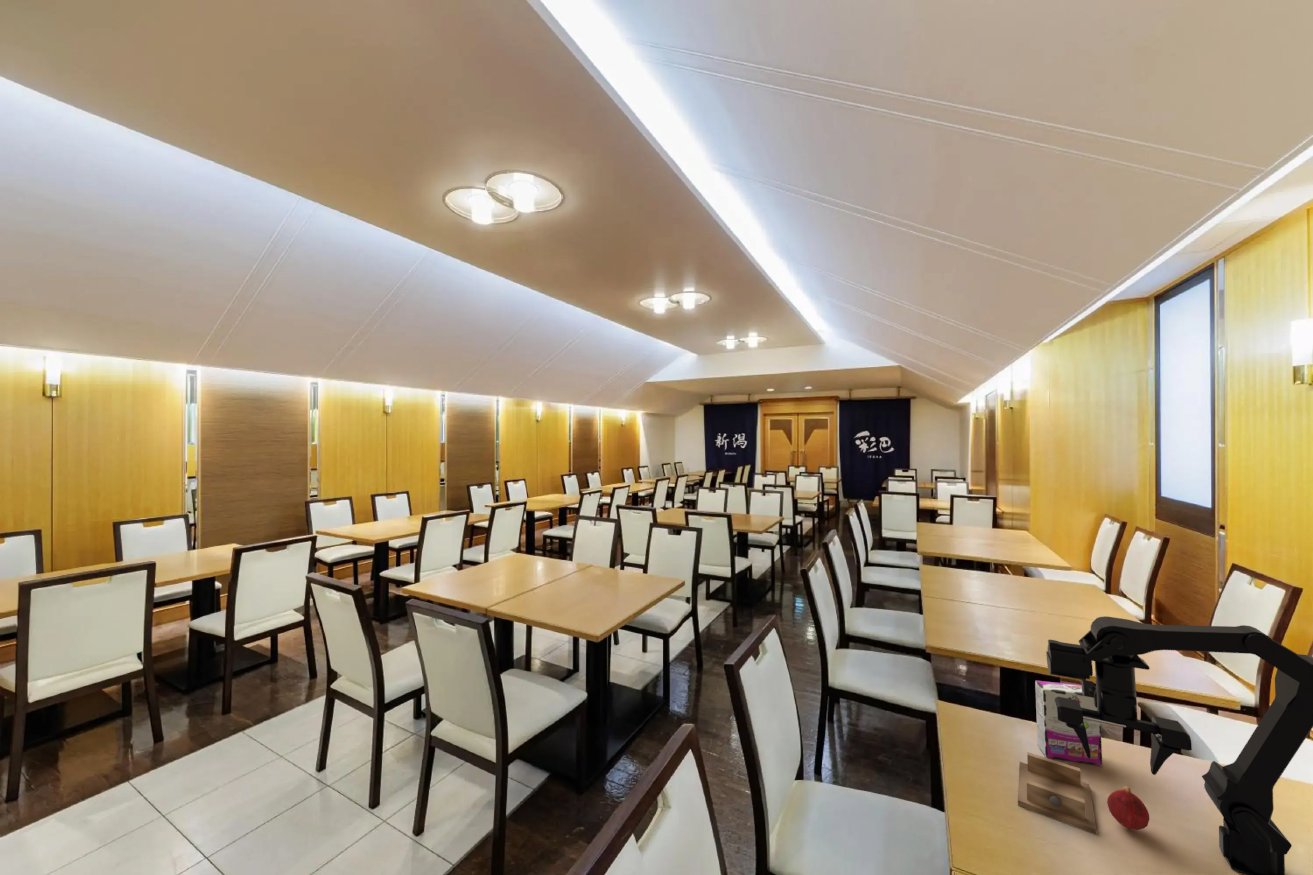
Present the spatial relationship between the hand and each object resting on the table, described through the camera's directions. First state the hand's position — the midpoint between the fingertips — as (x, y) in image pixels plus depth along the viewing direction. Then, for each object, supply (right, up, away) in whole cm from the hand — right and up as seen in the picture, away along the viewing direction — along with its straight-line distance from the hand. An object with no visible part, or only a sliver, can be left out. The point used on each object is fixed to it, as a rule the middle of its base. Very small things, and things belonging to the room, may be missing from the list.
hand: (1120, 764), depth 93 cm
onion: (+1, -12, -1) cm, 12 cm away
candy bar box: (+8, -12, +20) cm, 25 cm away
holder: (-7, -12, +8) cm, 16 cm away
